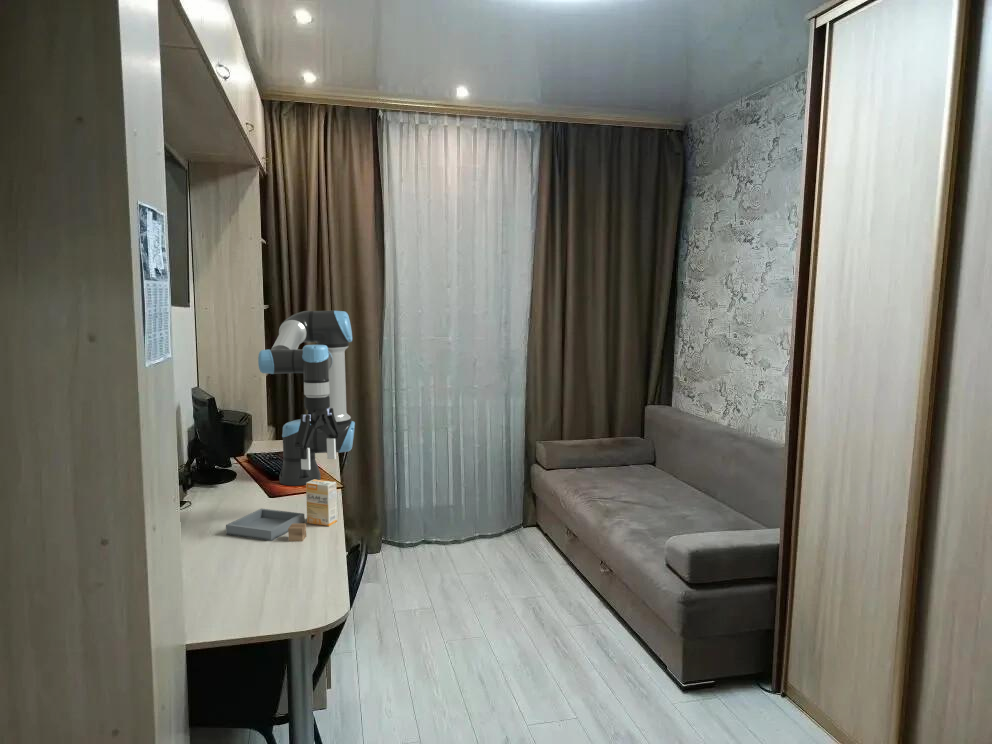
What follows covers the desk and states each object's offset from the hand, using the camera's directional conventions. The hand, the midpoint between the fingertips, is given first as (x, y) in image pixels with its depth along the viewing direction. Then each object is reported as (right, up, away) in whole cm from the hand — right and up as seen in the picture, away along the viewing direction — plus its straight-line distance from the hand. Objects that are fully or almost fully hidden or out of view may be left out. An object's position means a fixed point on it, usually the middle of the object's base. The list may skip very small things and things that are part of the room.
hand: (319, 464), depth 202 cm
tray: (-15, -19, -3) cm, 25 cm away
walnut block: (-3, -20, -11) cm, 23 cm away
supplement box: (0, -19, +2) cm, 19 cm away
